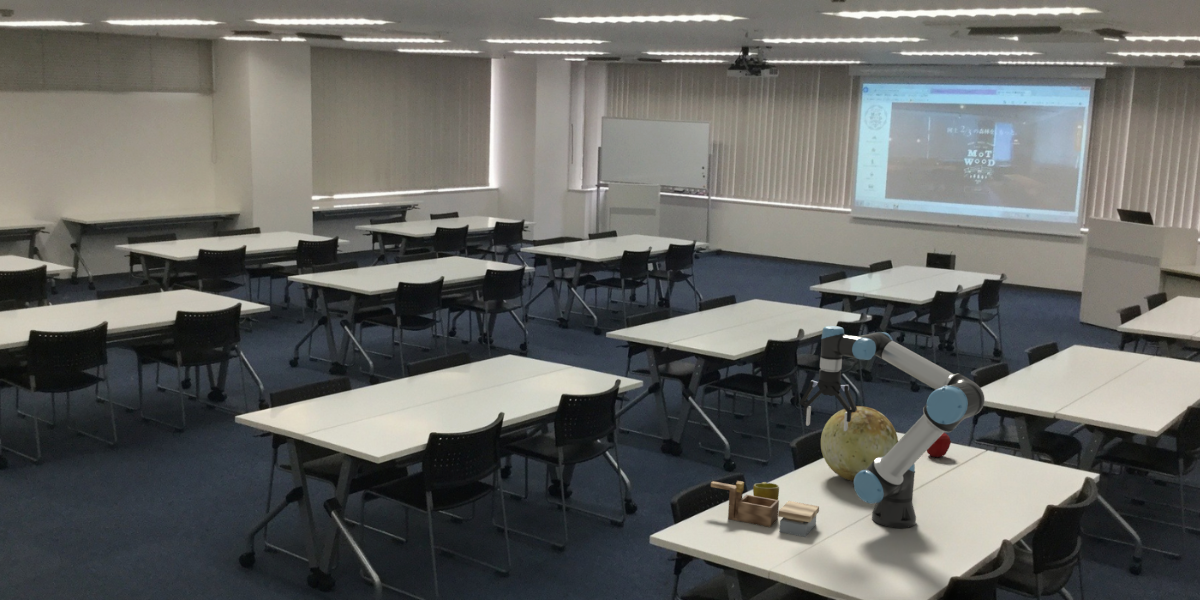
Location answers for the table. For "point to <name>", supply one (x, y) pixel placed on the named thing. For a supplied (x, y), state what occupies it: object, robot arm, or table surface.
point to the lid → (798, 511)
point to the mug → (766, 490)
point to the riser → (796, 526)
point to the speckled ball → (856, 441)
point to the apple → (940, 446)
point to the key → (728, 486)
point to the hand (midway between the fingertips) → (826, 427)
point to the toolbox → (752, 508)
